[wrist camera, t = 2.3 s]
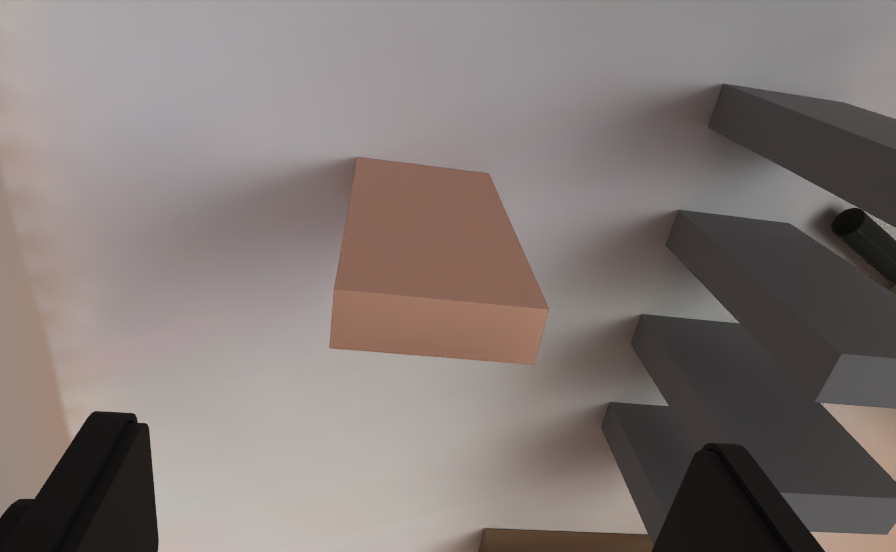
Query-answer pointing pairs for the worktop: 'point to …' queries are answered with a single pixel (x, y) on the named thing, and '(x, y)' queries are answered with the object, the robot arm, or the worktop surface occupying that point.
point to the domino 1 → (433, 268)
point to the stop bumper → (562, 541)
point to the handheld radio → (868, 241)
